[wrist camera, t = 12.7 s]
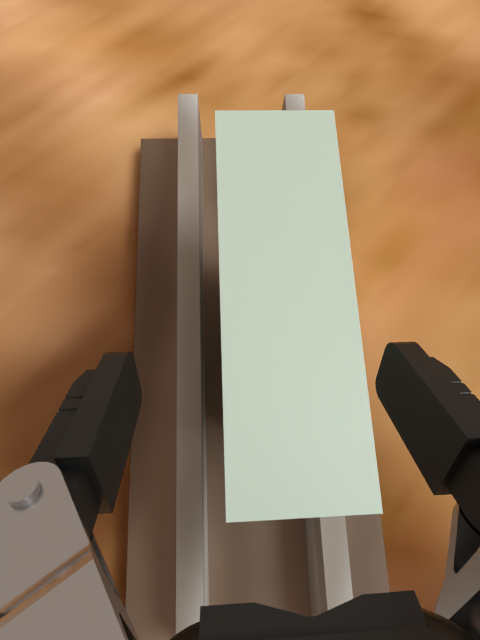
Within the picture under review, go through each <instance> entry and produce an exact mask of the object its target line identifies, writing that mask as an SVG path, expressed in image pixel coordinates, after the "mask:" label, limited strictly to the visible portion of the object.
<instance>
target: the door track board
mask: <svg viewBox="0 0 480 640" xmlns="http://www.w3.org/2000/svg"><path fill="white" fill-rule="evenodd" d="M282 110H305V101H304V94H285V97H284V102H283V107H282ZM134 360H135V364H136V368H137V372H138V377H139V381H140V385H141V390H142V402H141V408H140V412H139V416H138V419H137V423H136V427H135V431H134V434H133V438H132V442H131V456H130V486H129V517H128V547H127V577H126V607H125V609H126V611H127V614H128V616H129V618H130V620H131V622H132V624H133V626H134V629H135V631H136V633H137V636H138V638H139V640H170V639H171V638H172V637H173V636H174V635H176V634H177V633H179V632H180V631H182V630H183V629H185V628H187V627H188V626H190V625H192V624H194V623H197V622H199V621H200V606H209V605H223V604H237V603H250V602H255V603H259V604H262V605H266V606H270V607H274V608H277V609H281V610H285V611H289V612H293V613H296V614H300V615H304V616H309V617H312V616H317V615H319V614H321V613H323V612H326V611H328V610H330V609H332V608H334V607H336V606H338V605H341V604H343V603H345V602H347V601H349V600H351V599H353V598H356V597H358V596H360V595H362V594H373V593H387V592H390V591H389V583H388V574H387V566H386V557H385V549H384V541H383V532H382V524H381V516H380V514H367V515H349V516H332V517H315V518H298V519H281V520H263V521H246V522H229V523H226V502H225V464H224V427H223V389H222V352H221V314H220V277H219V239H218V202H217V164H216V138H202V133H201V123H200V113H199V104H198V94H178V139H141V155H140V185H139V215H138V246H137V276H136V306H135V336H134Z"/></svg>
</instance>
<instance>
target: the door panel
mask: <svg viewBox="0 0 480 640" xmlns="http://www.w3.org/2000/svg"><path fill="white" fill-rule="evenodd" d="M215 127H216V164H217V202H218V239H219V277H220V314H221V352H222V389H223V427H224V464H225V502H226V523H229V522H246V521H263V520H281V519H298V518H315V517H332V516H349V515H367V514H383V510H382V502H381V494H380V486H379V477H378V469H377V461H376V453H375V445H374V436H373V428H372V420H371V412H370V403H369V395H368V387H367V379H366V371H365V362H364V354H363V346H362V338H361V330H360V321H359V313H358V305H357V297H356V289H355V280H354V272H353V264H352V256H351V248H350V239H349V231H348V223H347V215H346V206H345V198H344V190H343V182H342V174H341V165H340V157H339V149H338V141H337V133H336V124H335V116H334V110H264V111H215Z"/></svg>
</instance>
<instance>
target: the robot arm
mask: <svg viewBox="0 0 480 640" xmlns="http://www.w3.org/2000/svg"><path fill="white" fill-rule="evenodd" d="M376 391H377V395H378V397H379V399H380V401H381V403H382V404H383V406H384V408H385V410H386V412H387V413H388V415H389V417H390V419H391V420H392V422H393V424H394V426H395V427H396V429H397V431H398V433H399V434H400V436H401V438H402V440H403V441H404V443H405V445H406V447H407V449H408V450H409V452H410V454H411V456H412V457H413V459H414V461H415V463H416V464H417V466H418V468H419V470H420V471H421V473H422V475H423V477H424V478H425V480H426V482H427V484H428V486H429V487H430V489H431V491H432V493H433V494H434V495H445V494H452V495H453V497H454V499H455V500H456V504H455V506H454V508H453V513H452V522H451V531H450V540H449V550H448V559H447V568H446V576H445V581H444V584H443V587H442V590H441V592H440V594H439V597H438V600H437V604H436V608H435V613H434V612H431V611H429V610H426V609H423V608H421V607H420V604H419V602H418V599H417V597H416V594H415V592H414V591H400V592H387V593H373V594H362V595H360V596H358V597H356V598H353V599H351V600H349V601H347V602H345V603H343V604H341V605H338V606H336V607H334V608H332V609H330V610H328V611H326V612H323V613H321V614H319V615H317V616H312V617H309V616H304V615H300V614H296V613H293V612H289V611H285V610H281V609H277V608H274V607H270V606H266V605H262V604H259V603H255V602H250V603H237V604H223V605H209V606H200V621H199V622H197V623H194V624H192V625H190V626H188V627H187V628H185V629H183V630H182V631H180V632H179V633H177V634H176V635H174V636H173V637H172V638H171V639H170V640H480V401H479V399H478V398H477V397H476V396H475V395H474V394H471V391H470V390H469V389H468V387H467V386H466V385H465V384H464V383H461V380H460V379H459V378H458V377H457V375H456V374H455V373H454V372H453V371H452V370H451V369H450V368H449V367H447V366H446V365H444V364H443V363H441V362H440V361H438V360H437V359H435V358H434V357H429V356H428V355H427V354H426V353H425V351H424V350H423V349H422V348H421V347H420V346H419V345H418V344H417V343H416V342H393V343H388V344H387V346H386V348H385V351H384V354H383V357H382V360H381V364H380V367H379V370H378V374H377V377H376ZM141 402H142V390H141V385H140V381H139V377H138V372H137V368H136V364H135V360H134V356H133V354H132V352H109V353H105V354H104V355H103V357H102V359H101V361H100V363H99V365H98V367H97V369H96V370H87V371H86V372H85V373H83V374H82V375H81V376H80V377H79V378H78V379H77V380H76V381H75V382H74V383H73V384H72V386H71V388H70V390H69V392H68V393H67V395H66V399H65V400H64V401H63V403H62V404H61V406H60V408H59V412H57V414H56V415H55V417H54V419H53V421H52V423H51V425H50V426H49V428H48V430H47V432H46V434H45V436H44V437H43V439H42V441H41V443H40V445H39V447H38V448H37V450H36V452H35V454H34V456H33V458H32V459H31V461H30V463H29V464H28V465H25V466H23V467H21V468H18V469H17V470H15V471H13V472H12V473H10V474H9V475H8V476H6V477H5V478H4V479H3V480H2V481H1V482H0V640H139V638H138V636H137V633H136V631H135V629H134V626H133V624H132V622H131V620H130V618H129V616H128V614H127V611H126V609H125V607H124V605H123V603H122V600H121V598H120V596H119V593H118V591H117V589H116V586H115V584H114V581H113V579H112V577H111V574H110V572H109V570H108V567H107V565H106V562H105V560H104V558H103V555H102V553H101V550H100V548H99V546H98V543H97V541H96V539H95V536H94V534H93V532H92V531H93V528H94V524H95V521H96V518H97V515H98V514H102V513H112V512H113V509H114V505H115V501H116V497H117V494H118V490H119V486H120V483H121V479H122V475H123V471H124V468H125V464H126V460H127V457H128V453H129V449H130V445H131V442H132V438H133V434H134V431H135V427H136V423H137V419H138V416H139V412H140V408H141Z"/></svg>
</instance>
